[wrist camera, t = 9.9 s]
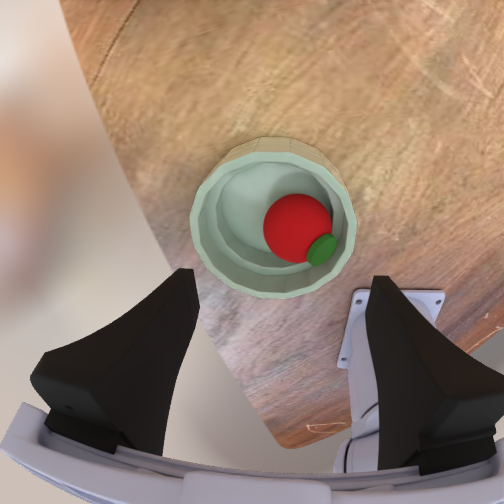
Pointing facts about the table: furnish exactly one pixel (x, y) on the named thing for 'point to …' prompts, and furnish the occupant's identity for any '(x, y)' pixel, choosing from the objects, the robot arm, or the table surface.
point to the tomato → (299, 230)
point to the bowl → (255, 208)
